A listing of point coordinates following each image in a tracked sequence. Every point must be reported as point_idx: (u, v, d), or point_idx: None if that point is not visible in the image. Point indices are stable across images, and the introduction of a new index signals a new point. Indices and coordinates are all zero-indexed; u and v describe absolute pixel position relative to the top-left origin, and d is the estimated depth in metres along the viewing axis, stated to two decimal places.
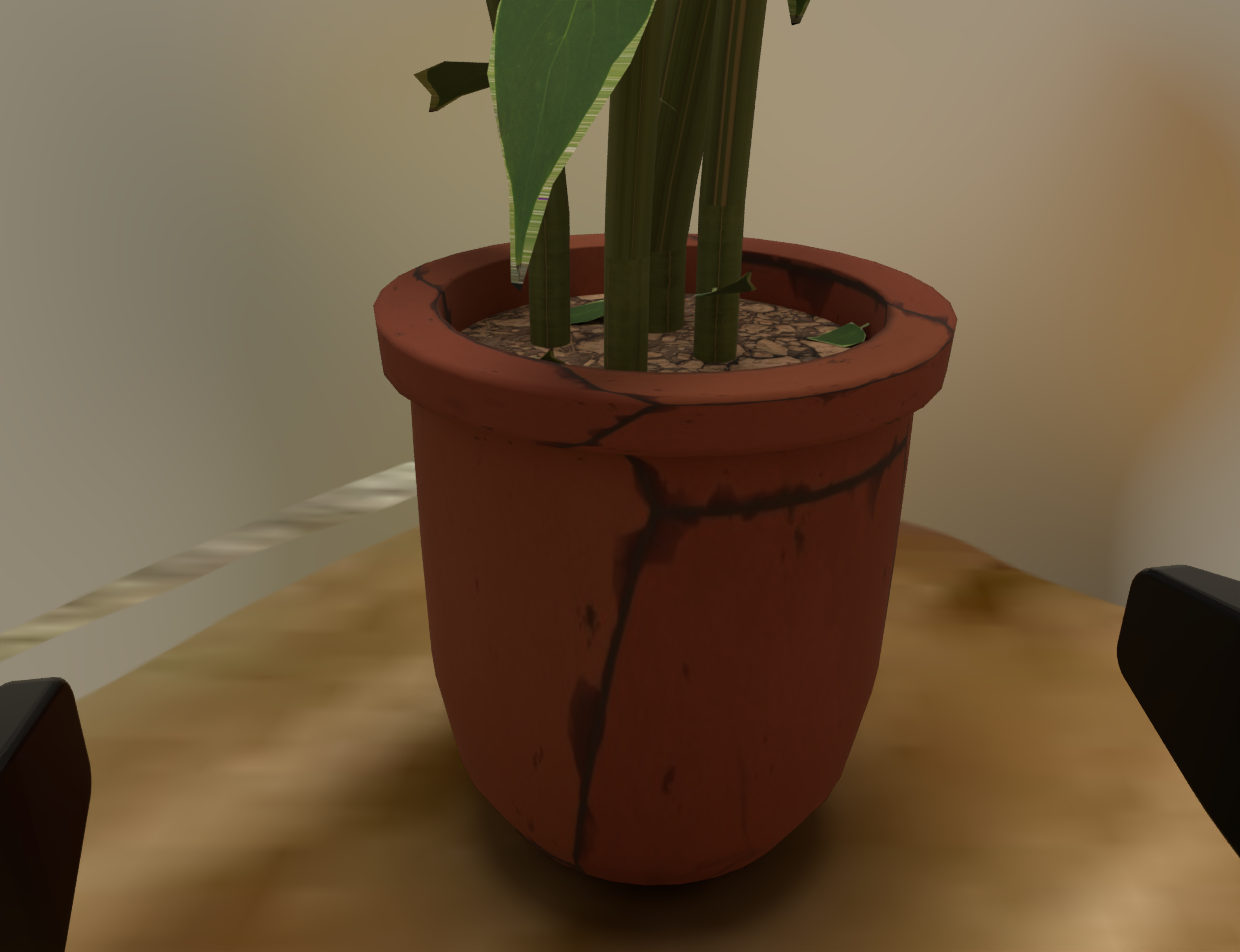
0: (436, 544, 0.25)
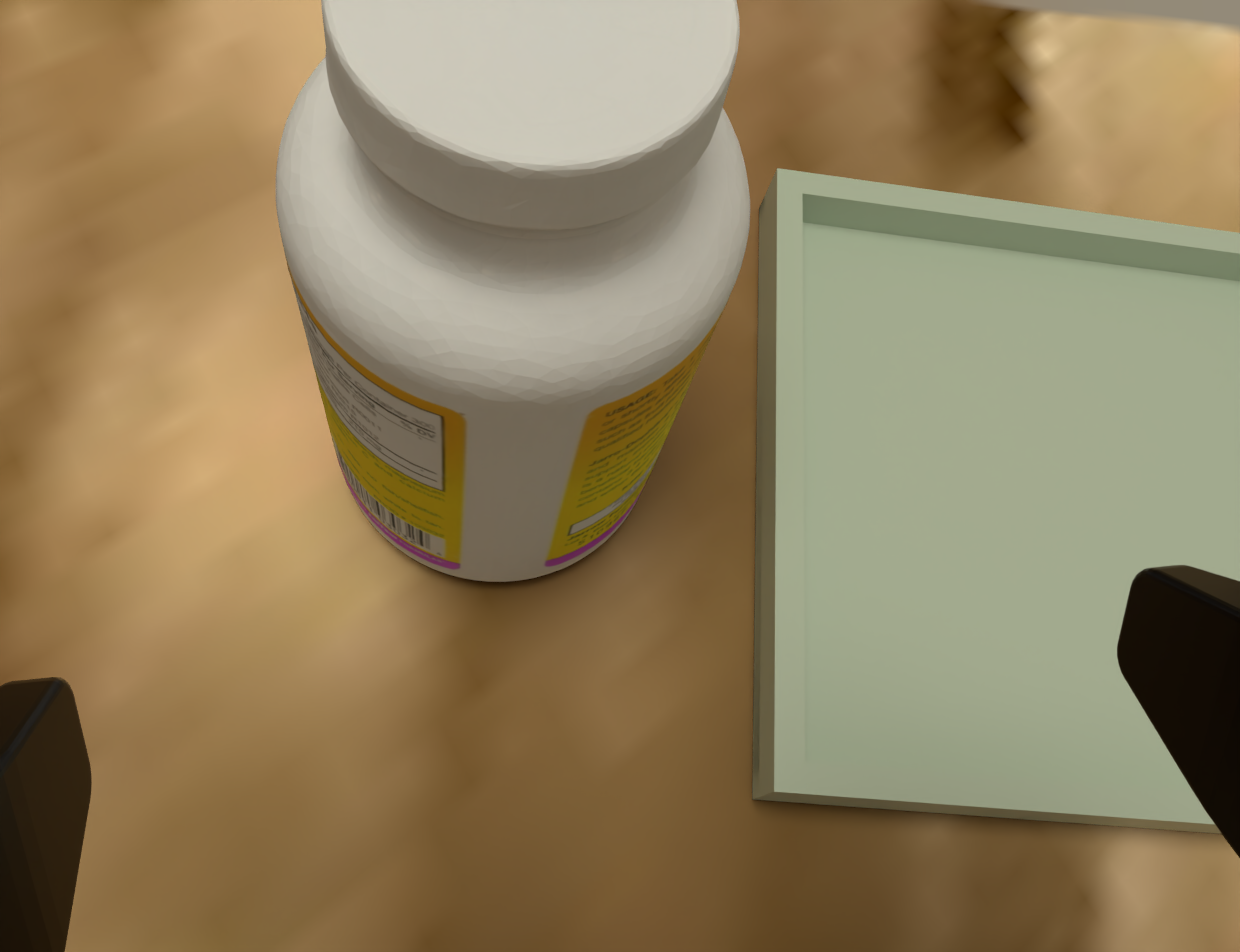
0: None
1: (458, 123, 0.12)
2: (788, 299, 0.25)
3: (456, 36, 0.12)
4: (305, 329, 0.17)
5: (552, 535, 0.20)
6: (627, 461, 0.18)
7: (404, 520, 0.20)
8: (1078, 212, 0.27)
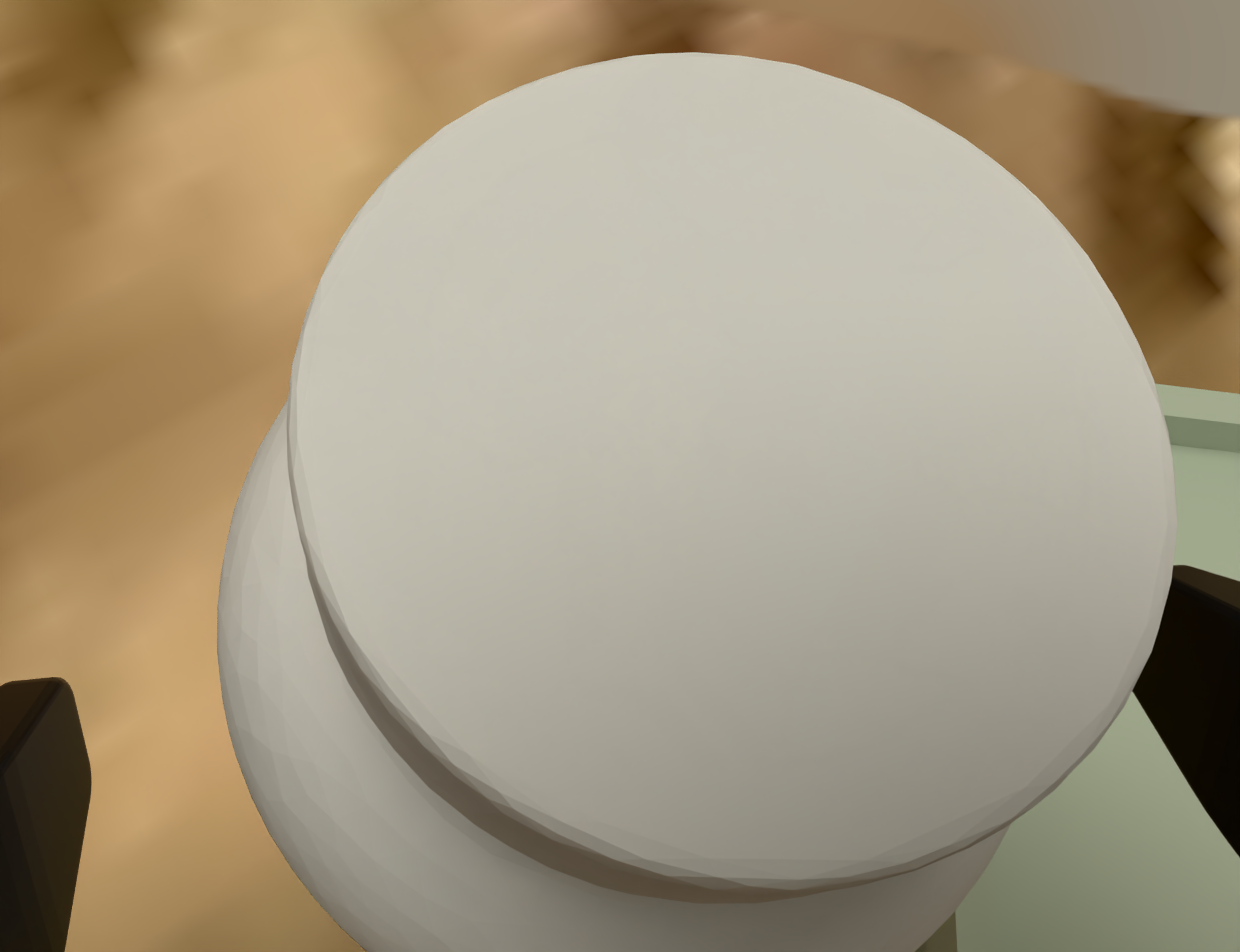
0: None
1: (606, 777, 0.05)
2: None
3: (592, 530, 0.05)
4: None
5: None
6: None
7: None
8: None
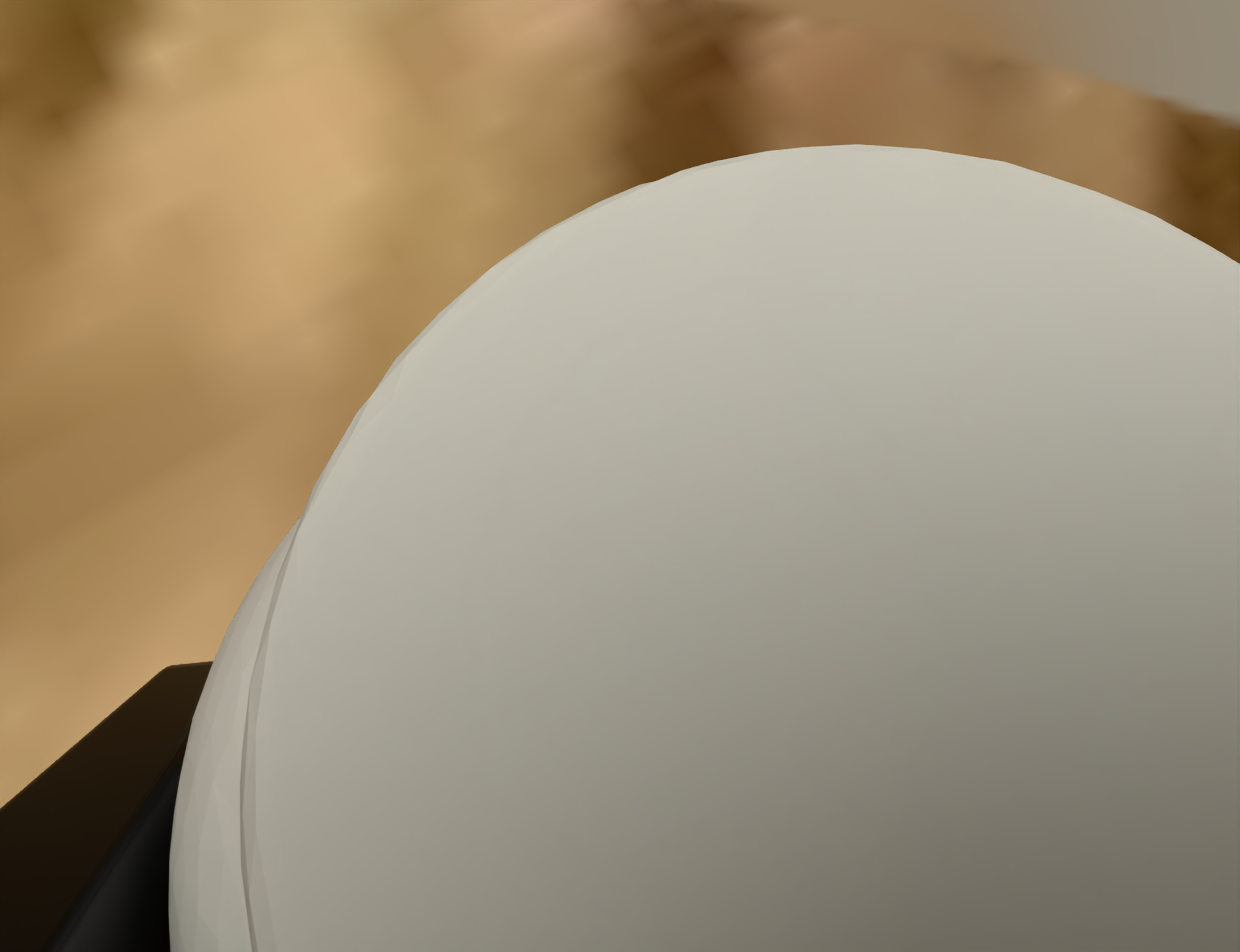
0: None
1: None
2: None
3: None
4: None
5: None
6: None
7: None
8: None
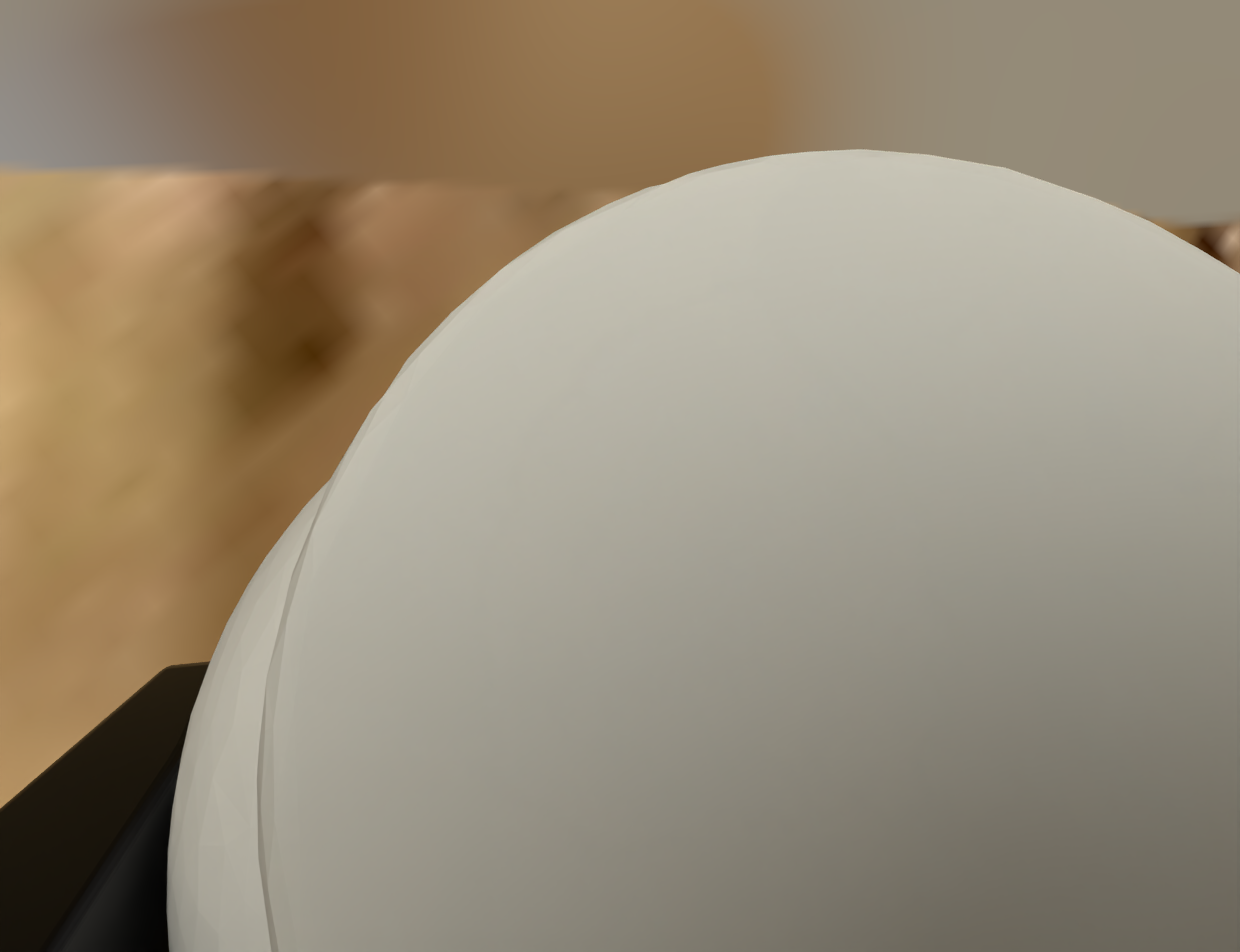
0: None
1: None
2: None
3: None
4: None
5: None
6: None
7: None
8: None
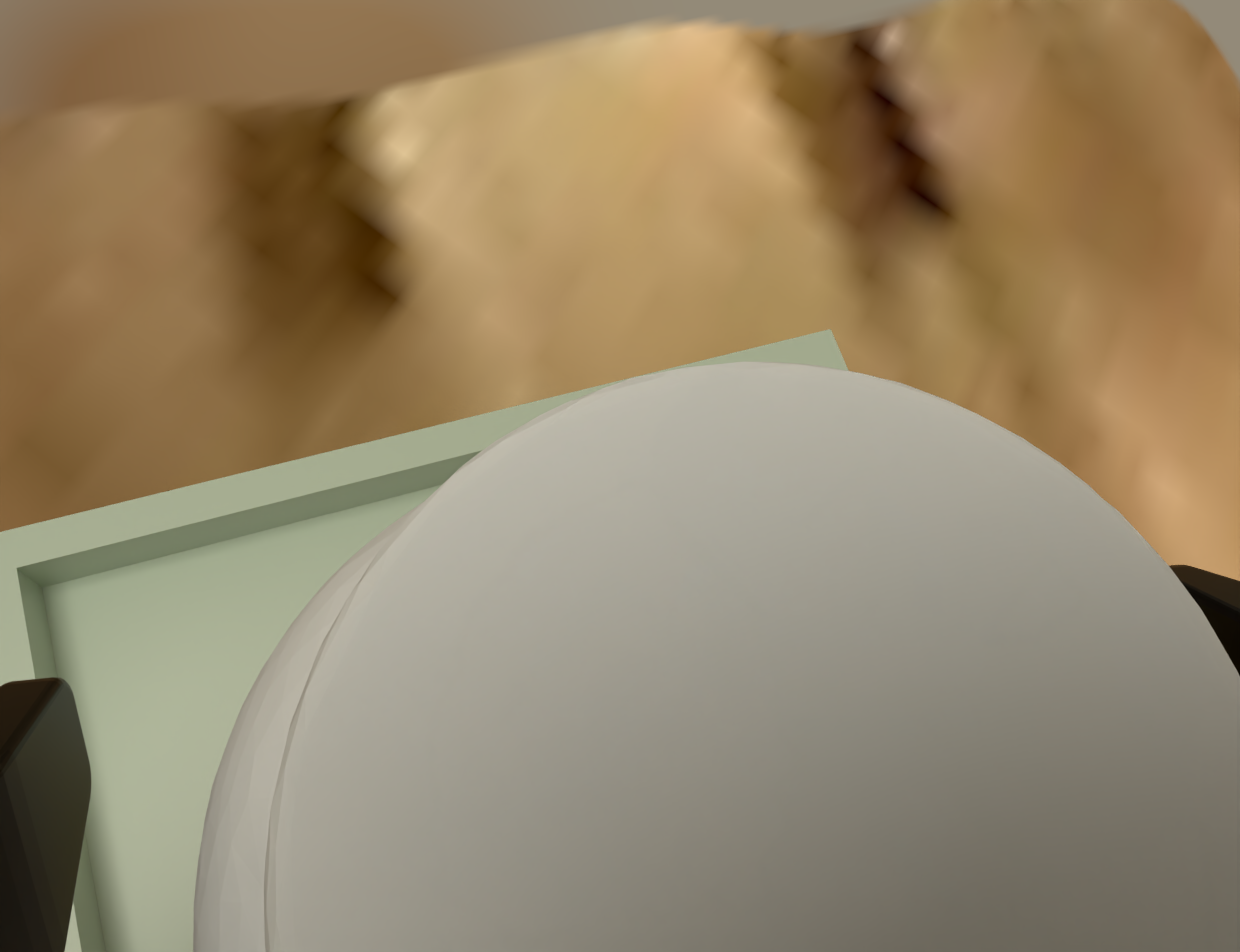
0: None
1: None
2: None
3: None
4: None
5: None
6: None
7: None
8: (467, 419, 0.18)
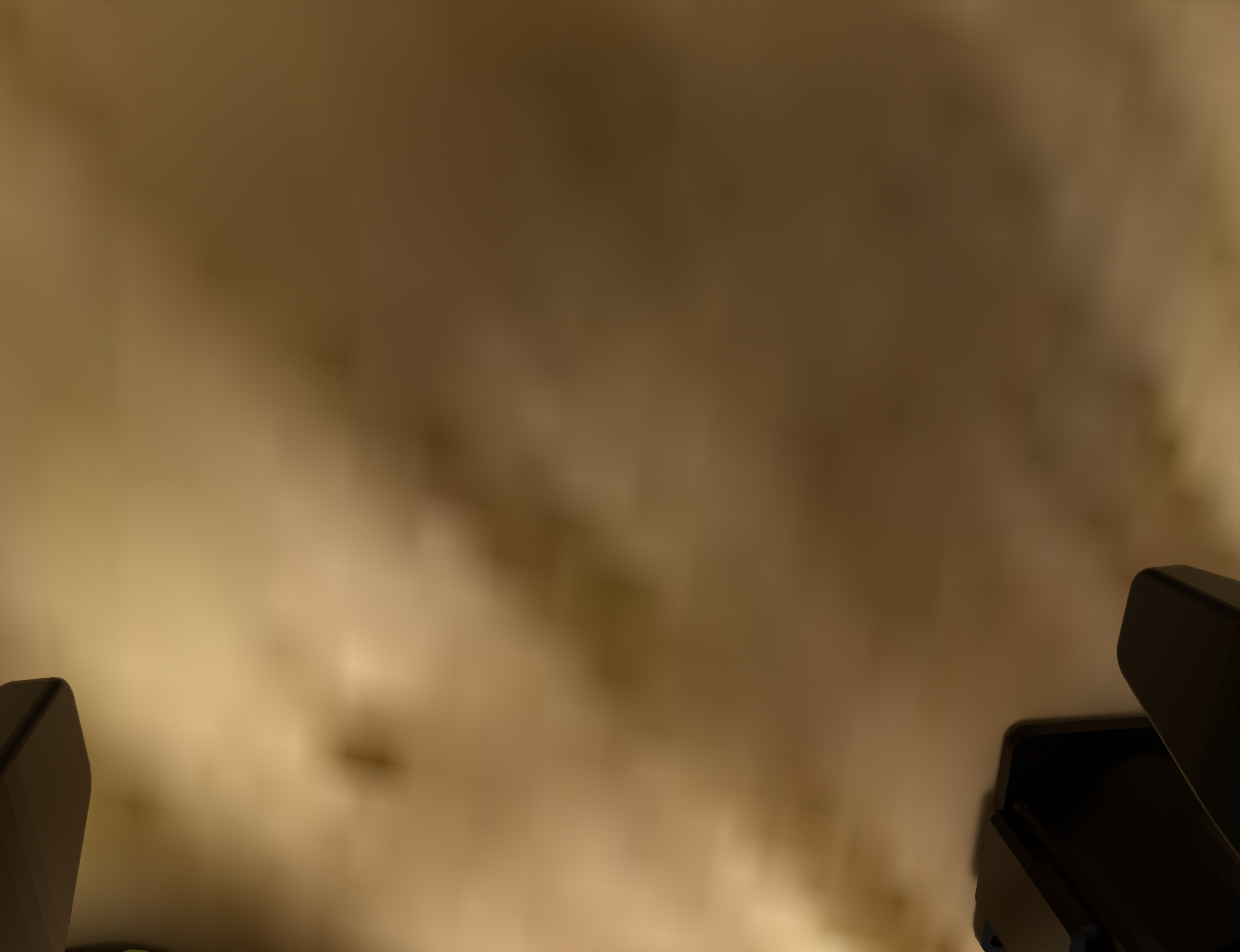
0: None
1: None
2: None
3: None
4: None
5: None
6: None
7: None
8: None
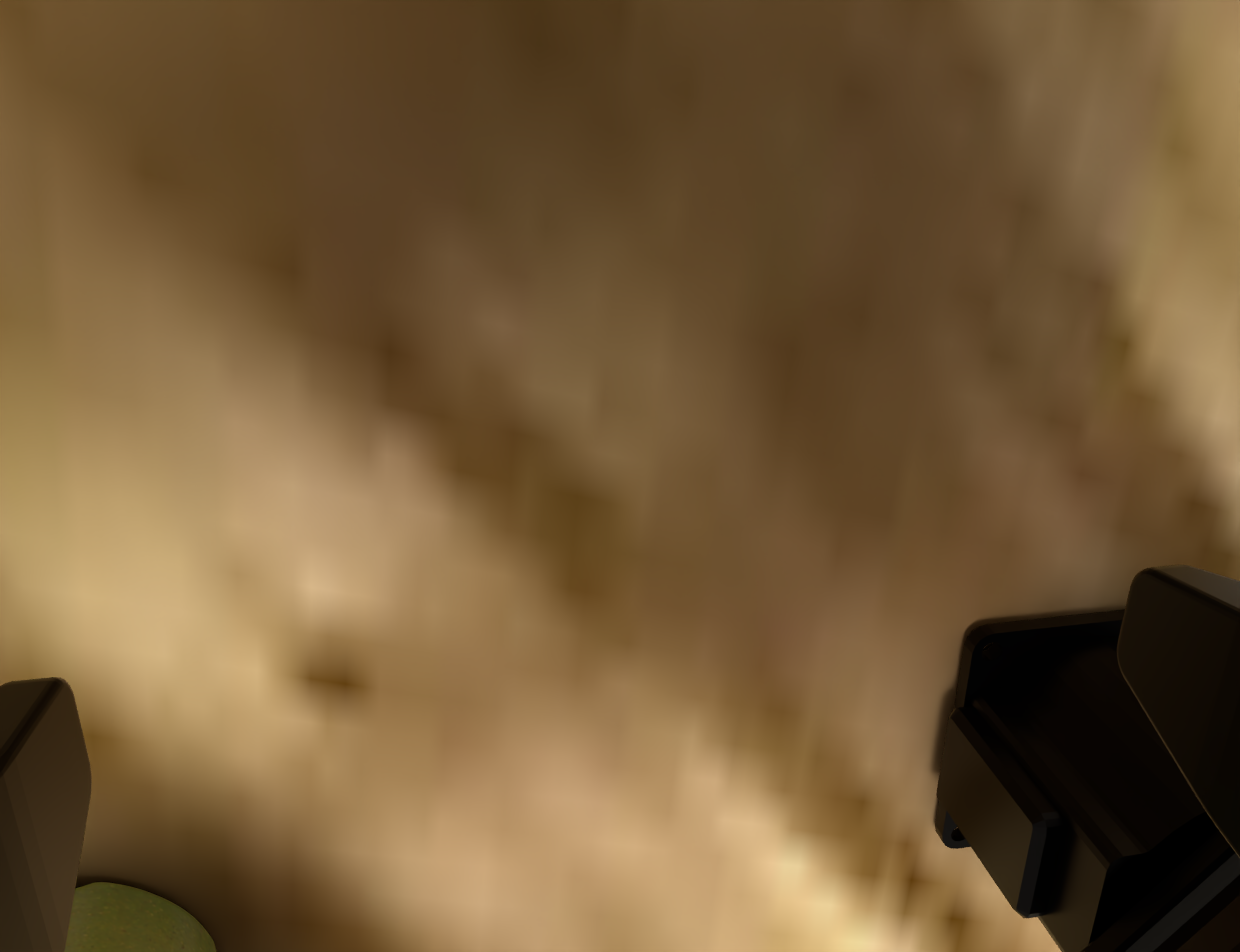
0: None
1: None
2: None
3: None
4: None
5: None
6: None
7: None
8: None
